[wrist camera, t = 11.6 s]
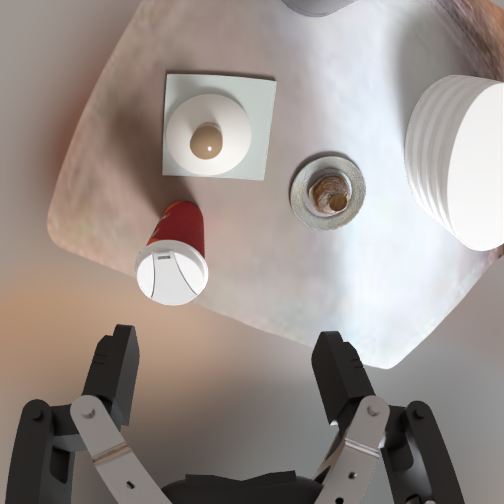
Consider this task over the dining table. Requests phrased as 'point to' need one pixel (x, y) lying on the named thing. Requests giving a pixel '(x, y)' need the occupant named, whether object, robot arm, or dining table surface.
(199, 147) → the cup lid
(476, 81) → the plate stack
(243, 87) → the rubber mat
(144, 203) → the dining table surface
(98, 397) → the robot arm
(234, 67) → the dining table surface
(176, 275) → the coffee cup
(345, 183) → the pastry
